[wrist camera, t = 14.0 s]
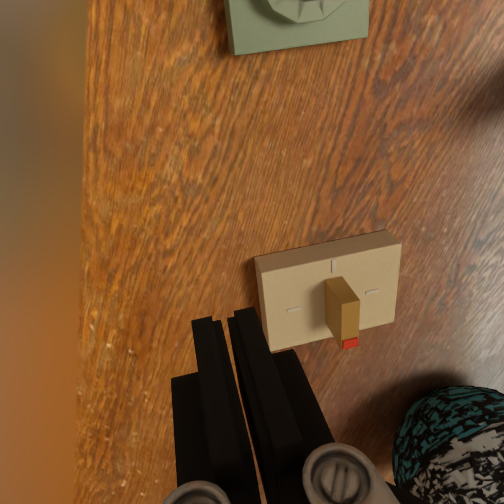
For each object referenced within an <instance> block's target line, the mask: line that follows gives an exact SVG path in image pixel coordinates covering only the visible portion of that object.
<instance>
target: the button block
mask: <svg viewBox="0 0 504 504" xmlns="http://www.w3.org/2000/svg"><path fill="white" fill-rule="evenodd" d="M223 2H224V10H225V19H226V27H227V35H228V44H229V52H230V54H233V55H235V56H237V55H244V54H252V53H259V52H266V51H273V50H280V49H288V48H295V47H302V46H309V45H317V44H324V43H331V42H338V41H346V40H353V39H360V38H367V37H368V22H369V0H223Z"/></svg>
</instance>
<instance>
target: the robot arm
mask: <svg viewBox="0 0 504 504" xmlns="http://www.w3.org/2000/svg"><path fill="white" fill-rule="evenodd" d="M227 321H228V327H229V333H230V338H231V344H232V350H233V355H234V361H235V366H236V372H237V378H238V383H239V389H240V394H241V398H242V402H243V406H244V410H245V415H246V419H247V423H248V427H249V431H250V435H251V439H252V443H253V447H254V451H255V456H256V460H257V464H258V468H259V472H260V476H261V480H262V484H263V488H264V492H265V497H266V501H267V504H431V503H429V502H427V501H425V500H423V499H421V498H419V497H417V496H415V495H413V494H411V493H409V492H407V491H404V490H402V489H400V488H398V487H396V486H394V485H392V484H390V483H388V482H386V481H384V479H383V478H382V476H381V475H380V473H379V472H378V470H377V469H376V467H375V466H374V465H373V463H372V462H371V461H370V460H369V458H368V457H367V456H366V455H365V454H364V453H363V452H361V451H360V450H358V449H356V448H355V447H353V446H350V445H347V444H344V443H335V441H334V439H333V436H332V434H331V432H330V429H329V427H328V425H327V423H326V420H325V418H324V416H323V414H322V411H321V409H320V407H319V404H318V402H317V400H316V398H315V395H314V393H313V391H312V388H311V386H310V384H309V382H308V379H307V377H306V375H305V373H304V370H303V368H302V366H301V363H300V361H299V359H298V357H297V355H296V353H295V351H294V350H293V349H290V350H286V351H282V352H278V353H274V354H271V351H270V349H269V346H268V343H267V340H266V338H265V335H264V332H263V329H262V327H261V324H260V321H259V318H258V316H257V313H256V310H255V308H254V307H250V308H245V309H241V310H236V311H234V317H230V318H227ZM191 323H192V330H193V338H194V345H195V352H196V359H197V366H198V372H195V373H191V374H187V375H183V376H178V377H174V378H172V379H171V391H172V407H173V423H174V440H175V456H176V472H177V488H176V489H175V490H173V491H172V492H171V493H170V495H169V496H168V497H167V498H166V499H165V500H164V501H163V503H162V504H261V499H260V493H259V487H258V482H257V476H256V470H255V464H254V459H253V454H252V449H251V445H250V440H249V436H248V432H247V428H246V423H245V419H244V415H243V411H242V407H241V402H240V398H239V394H238V390H237V386H236V381H235V377H234V373H233V369H232V365H231V361H230V356H229V352H228V348H227V344H226V340H225V335H224V331H223V327H222V323H221V320H217V321H212V316H209V317H205V318H200V319H196V320H192V321H191Z"/></svg>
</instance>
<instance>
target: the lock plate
mask: <svg viewBox="0 0 504 504" xmlns="http://www.w3.org/2000/svg"><path fill="white" fill-rule="evenodd" d="M401 247H402V243H401V242H400V241H399V240H398V239H396V238H395V237H394V236H393V235H392V234H391V233H390V232H389V231H387V230H383V231H378V232H373V233H369V234H364V235H359V236H354V237H349V238H344V239H340V240H335V241H330V242H325V243H320V244H315V245H311V246H306V247H301V248H296V249H291V250H287V251H282V252H277V253H272V254H267V255H262V256H258V257H254V261H255V269H256V277H257V286H258V294H259V303H260V311H261V319H262V328H263V332H264V335H265V338H266V340H267V343H268V346H269V349H270V351H275V350H279V349H283V348H287V347H292V346H296V345H300V344H304V343H308V342H312V341H316V340H321V339H325V338H329V337H333V335H332V333H331V331H330V330H329V328H328V326H327V325H326V317H325V280H327V279H332V278H336V277H341V276H342V277H343V278H344V279H345V281H346V282H347V283H348V285H349V286H350V287H351V289H352V290H353V291H354V293H355V294H356V295H357V297H358V298H359V299H360V318H359V330H362V329H366V328H371V327H375V326H379V325H383V324H387V323H391V322H394V314H395V305H396V295H397V285H398V276H399V266H400V256H401Z"/></svg>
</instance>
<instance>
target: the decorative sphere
mask: <svg viewBox="0 0 504 504" xmlns="http://www.w3.org/2000/svg"><path fill="white" fill-rule="evenodd" d="M396 431H397V432H396V433H395V436H394V440H393V448H392V468H393V474H394V482H395V484H396V487H398V488H400V489H402V490H404V491H407V492H409V493H411V494H413V495H415V496H417V497H419V498H421V499H423V500H425V501H427V502H429V503H431V504H504V394H502V393H500V392H498V391H497V390H494V389H489V388H484V387H483V388H482V387H474V386H449V387H448V386H447V387H444V388H442V389H435V390H433V391H431V392H429V393H428V394H426V395H425V396H423V397H421V398H420V399H418V400H417V401H416V402H415V403H414V404H413V405H412V406H411V407H409V409H408V411H407V412H406V414H405V416H404V418H403V420H402V421H401V422H400V424H399V426H398V427H397V430H396Z"/></svg>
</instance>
